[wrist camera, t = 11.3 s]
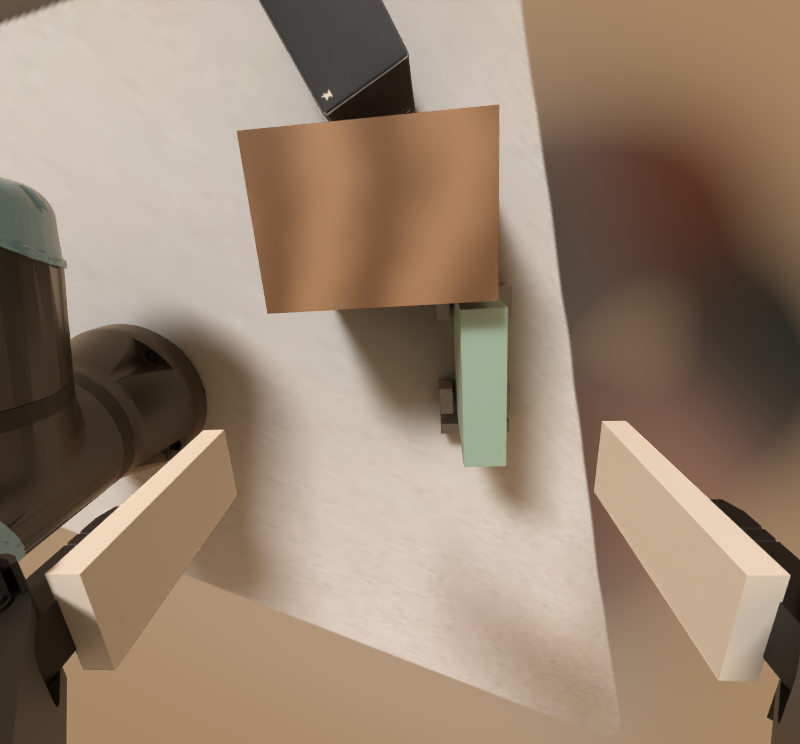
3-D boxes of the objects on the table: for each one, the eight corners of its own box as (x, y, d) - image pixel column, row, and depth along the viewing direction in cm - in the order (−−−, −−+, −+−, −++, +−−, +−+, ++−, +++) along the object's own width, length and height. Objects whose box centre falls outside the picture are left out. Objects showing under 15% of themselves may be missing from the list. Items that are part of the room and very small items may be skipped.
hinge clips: (440, 422, 42) (441, 433, 40) (435, 287, 38) (435, 291, 36) (504, 420, 42) (509, 431, 39) (506, 283, 38) (511, 286, 35)
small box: (421, 107, 34) (415, 55, 24) (354, 154, 35) (323, 123, 25) (351, -30, 31) (313, -152, 21) (282, 26, 33) (216, -63, 23)
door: (456, 403, 42) (464, 467, 30) (452, 287, 38) (460, 309, 27) (486, 402, 41) (506, 466, 30) (486, 285, 38) (507, 307, 26)
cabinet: (324, 286, 39) (267, 313, 26) (309, 168, 36) (236, 131, 23) (475, 276, 38) (498, 300, 24) (474, 153, 35) (499, 104, 21)
